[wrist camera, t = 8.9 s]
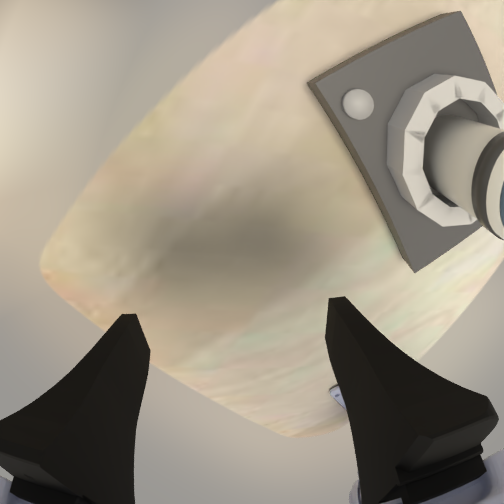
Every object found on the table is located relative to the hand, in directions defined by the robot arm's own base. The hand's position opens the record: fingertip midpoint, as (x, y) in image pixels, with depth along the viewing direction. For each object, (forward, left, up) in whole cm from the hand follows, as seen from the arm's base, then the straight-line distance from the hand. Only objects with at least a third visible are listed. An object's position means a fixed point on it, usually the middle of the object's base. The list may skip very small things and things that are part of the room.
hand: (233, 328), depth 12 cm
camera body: (-3, -14, -9) cm, 17 cm away
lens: (-3, -14, -7) cm, 16 cm away
